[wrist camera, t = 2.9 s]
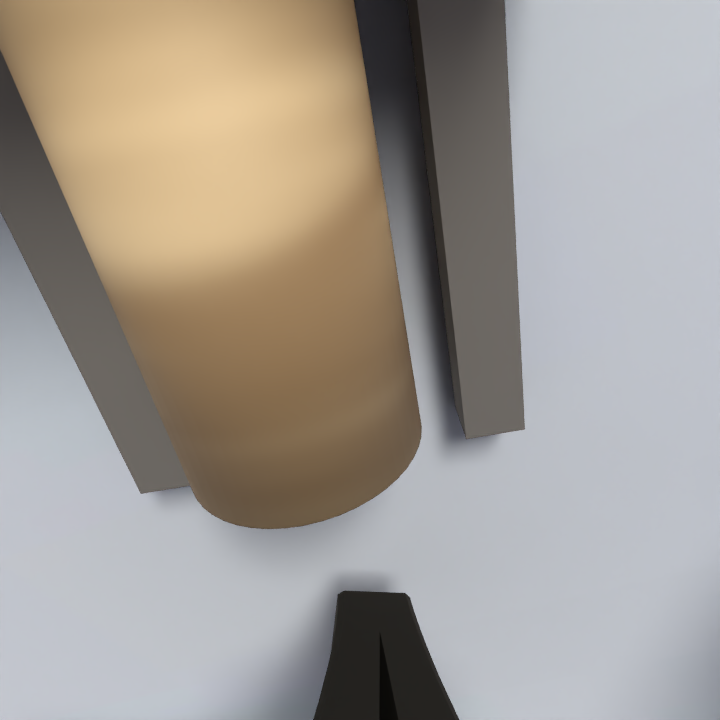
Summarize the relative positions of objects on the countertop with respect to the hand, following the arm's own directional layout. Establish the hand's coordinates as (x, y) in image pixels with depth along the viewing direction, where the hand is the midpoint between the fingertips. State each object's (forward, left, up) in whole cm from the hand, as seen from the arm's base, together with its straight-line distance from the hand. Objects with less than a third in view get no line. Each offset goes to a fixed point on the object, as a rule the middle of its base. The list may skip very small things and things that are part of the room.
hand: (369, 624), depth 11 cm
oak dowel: (+6, -6, -2) cm, 9 cm away
